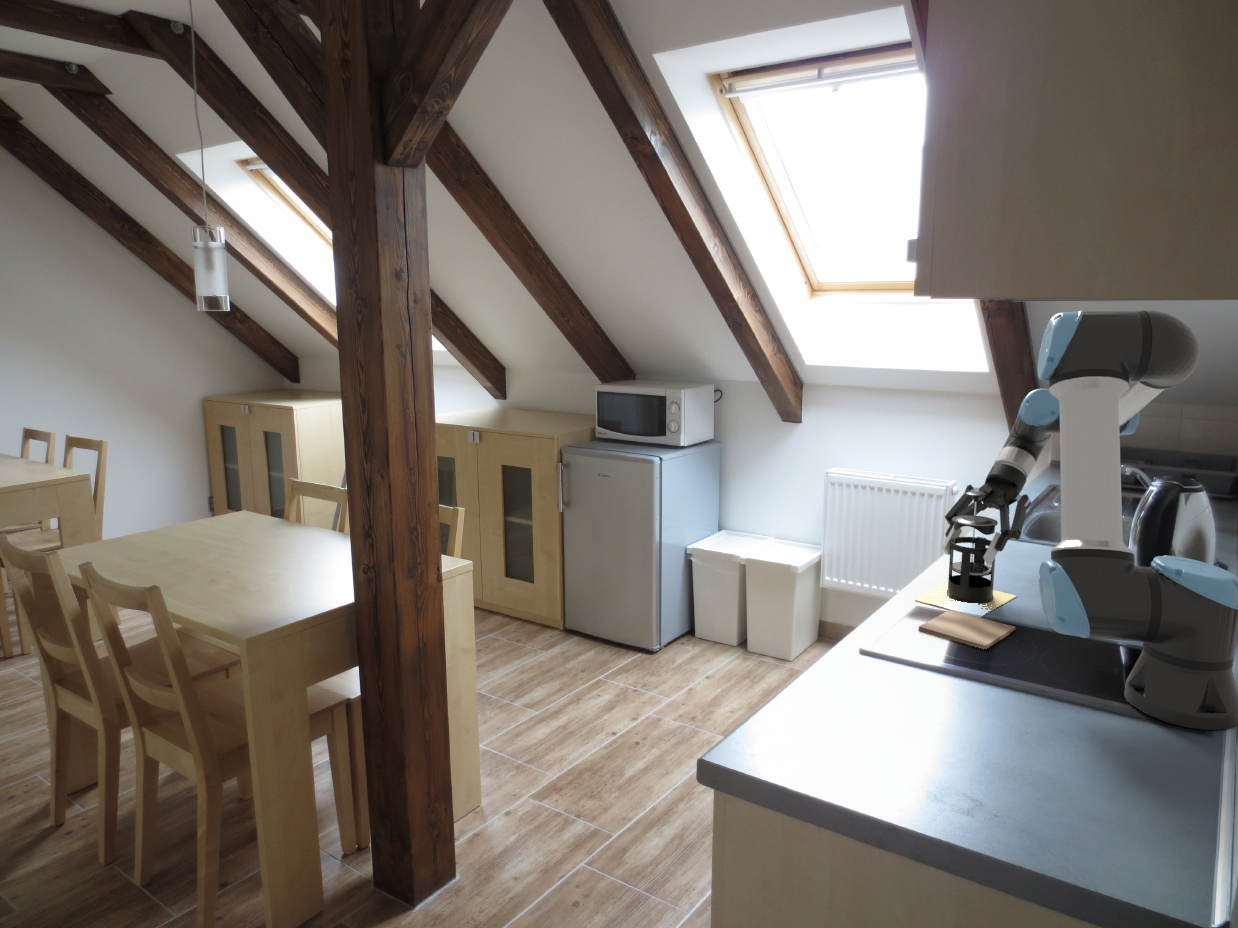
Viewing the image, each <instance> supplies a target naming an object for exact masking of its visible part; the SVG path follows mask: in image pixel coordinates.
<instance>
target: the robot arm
mask: <svg viewBox="0 0 1238 928" xmlns="http://www.w3.org/2000/svg"><path fill="white" fill-rule="evenodd" d="M1200 351H1201V350H1200V343H1199V340H1198V338H1197V337H1196V334H1195V333H1194V331H1193V330H1192V329H1191V328H1190V326H1188V324H1186V323H1185V322H1184V321H1182V320H1181V319H1180V318H1178V317H1176V316H1174V315H1171V314H1168V313H1167V312H1161V311H1158V310H1137V311H1136V310H1130V311H1129V310H1120V311H1119V310H1109V311H1108V310H1104V311H1103V310H1090V311H1089V310H1088V311H1085V310H1083V309H1081V310H1079V311H1062V312H1058V313H1056V314H1054V315H1053V316H1052V317H1051V318H1050V320H1049V321H1048V323H1047V325H1046V327H1045V330H1044V333H1043V337H1042V340H1041V344H1040V348H1039V354H1038V358H1037V359H1038V360H1037V368H1036V369H1037V377H1038V379H1039V380H1040V381H1043V382H1048V386H1049V387H1048V388H1036V389H1033V390H1032V391H1030V392H1028V393H1027V395H1026V396H1025V397H1024V399H1023V400H1022V402H1021V404H1020V406H1019V409H1018V411H1017V412H1018V413H1017V417H1016V419H1015V421H1014V423H1013V424H1012V425H1013V426H1012V428H1011V431H1010V432H1009V435H1008V437H1007V439H1006V441H1005V443H1004V445H1003V447H1002V448H1001V450H1000V452H999V453H998V455H997V457H996V459H995V460H994V463H993V465H992V466H991V468H990V471H989V472H988V474H987V476H986V478H985V481H984V484H982V485H981V486H980V487H974V486H973V485H972V484H967V486H966V488H965V491H964V493H963V494H962V495H961V496H960V498H959V499H958V500H957V501H956V502H955V504H954V505H953V506H952V507H951V508H950V510H948V511H947V513H946V515H945V516H944V519H945V521H946V522H947V523H948V525H949V527H948V528H947V529H946V532H945V537H946V538H945V540H944V542H943V544H942V546H941V549H942V550H943V552H944V554H945V555H947V556H950V545H951V539H954V543H955V538H957V537H961V534H962V532H963V530H962V527H961V528H959V529H958V530H954V522H953V521H952V518H953V517H956V516H962V515H973V516H974V508H975V502H974V496H969V495H966V492H970V491H979V492H983V493H986V494H987V496H983V497H979V498H978V502H977V505H976V516H978V514H979V513H980V512H983V511H985V510H987V509H995V510H998V511H999V520H1000V523H999V524H1000V529H999V530H1000V532H999V531H997V532H996V531H995V534H994V535H993V538H992V539H991V540H990V541H991V543H990V545H989V546H987V548H988V549H987V551H986V553H985V555H984V557H983V558H984V560H985V563H986V565H988V566H992V562H993V560H994V558H995V559H996V556H997V554H998V552H1002V551H1003V550H1004V549H1005V547H1006V545H1007V543H1008V541H1009V540H1010V539H1015V540H1020V538H1021V534H1022V532H1023V528H1024V527H1023V526H1024V523H1025V522H1024V521H1025V518H1026V514H1027V511H1028V509H1029V508H1030V506H1031V505H1032V502H1031V500H1030V497H1029V496H1028V494H1027V493H1026V494H1021V492H1022V490H1023V488H1024V486H1025V485H1026V483H1027V479H1029V477H1030V475H1031V473H1032V471H1033V470H1034V467H1035V466H1036V463H1037V461H1038V459H1039V457H1040V456H1041V453H1042V452H1043V450H1044V448H1045V447H1046V445H1047V442H1048V441H1049V440H1050V437H1051V435H1052V434H1059V451H1060V452H1059V461H1060V462H1059V463H1060V464H1059V465H1060V466H1059V468H1060V469H1059V471H1060V472H1059V473H1060V526H1061V527H1060V539H1061V540H1060V542H1059V543H1058V544H1057V545H1055V546H1054V547H1053V548H1052V549H1051V550H1050V558H1049V559H1048V558H1047V560H1046V559H1045V560H1043V561H1042V562H1041V564H1040V566H1039V570H1038V574H1039V578H1038V587H1039V597H1040V603H1041V607H1042V610H1043V613H1044V616H1045V619H1046V621H1047V623H1048V625H1049V626H1050V628H1052V630H1054V631H1055V632H1056V633H1058V634H1061V635H1069V636H1075V637H1080V638H1083V639H1088V638H1094V639H1095V638H1096V639H1106V640H1118V641H1129V642H1130V641H1131V642H1142V650H1141V653H1140V655H1139V657H1138V658H1137V660H1136V662H1135V663H1134V666H1133V668H1132V669H1131V671H1130V673H1129V675H1128V676H1127V678H1126V680H1125V685H1124V693H1123V694H1124V695H1123V696H1124V698H1126V699H1125V700H1126V702H1127V703H1128V702H1129V703H1130V704H1129V703H1128V704H1129V705H1131V706H1132V705H1133V706H1134V707H1136V708H1138V709H1139V710H1141V711H1144V712H1146V713H1148V714H1150V715H1152V716H1154V717H1157V718H1158V719H1157V720H1159V721H1162V722H1163V723H1164V722H1165V723H1168V724H1172V725H1176V726H1179V727H1185V728H1188V729H1189V728H1190V729H1197V730H1203V731H1204V730H1206V731H1207V730H1208V731H1209V730H1210V731H1213V730H1214V731H1215V730H1216V731H1218V730H1220V731H1221V730H1226V729H1231V728H1234V727H1235V726H1237V725H1238V687H1237V683H1236V678H1235V675H1234V670H1233V668H1234V659H1235V653H1236V647H1237V640H1238V576H1236V575H1235V574H1234V573H1232V572H1230V571H1228V570H1226V569H1224V568H1223V567H1219V566H1217V565H1214V564H1210V563H1207V562H1205V561H1201V560H1196V559H1192V558H1187V557H1183V556H1175V555H1162V556H1161V555H1158V556H1155V557H1154V558H1153V560H1152V561H1151V562H1150V566H1139V565H1136V564H1135V563H1136V562H1135V561H1136V560H1135V552H1134V551H1133V550H1132V549H1131V548H1130V547H1128V546H1127V545H1126V544H1125V542H1124V536H1123V534H1124V532H1123V509H1122V508H1123V506H1122V502H1123V501H1122V478H1121V477H1122V474H1121V473H1122V472H1121V468H1122V467H1121V444H1120V443H1121V440H1120V437H1121V436H1128V435H1129V436H1130V435H1133V434H1134V433H1135V432H1136V430H1137V429H1138V428H1137V427H1139V424H1140V411H1142V409H1144V408H1145V407H1146V406H1147V405H1148V404H1149V403H1150V402H1151V401H1153V400H1154V399H1155V398H1156V397H1157V396H1159V395H1160V394H1161V393H1162V392H1163V391H1165V390H1169V389H1173V388H1175V387H1177V386H1179V385H1180V384H1182V383H1183V382H1184V381H1186V379H1188V378H1189V377H1190V376H1191V374H1193V372H1194V371H1195V370H1196V367H1197V366H1198V363H1199V360H1200V354H1201V353H1200ZM1014 503H1016V507H1015V510H1014V515H1013V519H1012V523H1010V514H1011V513H1010V506H1011V505H1012V504H1014ZM1010 524H1011V525H1010ZM1133 706H1132V707H1133ZM1134 707H1133V708H1134ZM1136 708H1135V709H1136ZM1139 710H1138V711H1139ZM1141 711H1140V712H1141Z"/></svg>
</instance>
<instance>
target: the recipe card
mask: <svg viewBox="0 0 1238 928" xmlns="http://www.w3.org/2000/svg"><path fill="white" fill-rule="evenodd" d="M947 590H948V583H946V584H944V585H942V586H940V587H938V588H936V589H934V590H933V591H934V592H932V591H930V592H929V593H936V591H947ZM937 593H939V594H940V593H942V594H943V593H947V592H937ZM927 594H928V593H926V594H924V595H922V596H920V597H917V598H916V599H914V601H915V602H918V603H921V602H924V603H923V604H925V603H927V604H926V605H929V604H933V605H935V604H936V605H937V604H939V605H941V604H944V603H935V604H934V603H931V602H930V601H932V602H934V601H938V602H939V601H941V602H943V601H947V600H944V598H945V599H947V598H949V599H952V598H950V597H948V595H947V596H946V595H940V596H943V597H931V596H932V595H927ZM934 596H936V595H934ZM937 596H939V595H937ZM944 596H946V597H944ZM993 596H994V599H993V600H992V601H991V602H987V603H978V605H980V604H982V605H986V604H987V606H982V607H988V608H989V609H990V610H991V611H992V610H993V611H995V610H996V608H997V607H998V608H1000V607H1001V605H1002V606H1003V605H1005V604H1006V603H1009V602H1010V601H1011V600H1014V599H1015V598H1017V597H1018V595H1015V594H1011V593H1008V592H1007V593H1006V592H1003V591H999V590H995V589H993ZM931 599H938V600H931ZM939 599H942V600H939ZM948 601H951V602H952V601H953V600H948ZM955 601H956V600H955ZM945 604H947V603H945ZM991 605H992V606H991ZM999 606H1000V607H999ZM940 607H942V606H940ZM940 607H939V608H940ZM943 607H944V606H943ZM990 607H992V608H990ZM988 608H985V609H986V610H988ZM998 608H997V609H998ZM981 609H983V608H981ZM994 609H995V610H994ZM993 611H992V612H993ZM988 612H990V611H988ZM990 613H991V612H990Z"/></svg>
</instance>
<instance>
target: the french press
mask: <svg viewBox="0 0 1238 928" xmlns="http://www.w3.org/2000/svg"><path fill="white" fill-rule="evenodd" d="M966 495H969V496H974V499H973V502H975V508H974V516H973V515H962V516H956V517H953V518H952V521H953V522H954V530H958V529H959V528H961V529H962V528H963V527H970V528H973V529H972V536H959V537H957V538H955V543H954V539H951V545H950V554H949V563H948V564H949V565H948V566H949V567H948V581H947V584H948V590H947V595H948V596H949V597H950V598H952V599H954V600H957V601H961V602H967V603H987V602H991V601H992V600H993V599H994V596H993V590H994V581H995V567H996V566H995V565H996V564H995V563H996V557H995V558H994V560H993V562H992V564H991V565H987V564H985V563H986V561H985V560H984V558H983V557H984V555H985V553H986V551H987V549H988V547H989V545H990V543H991V541H992V540H990V539H987V538H986V537H984V536H983V537H982V536H976V535H975V534H976V530H977V531H978V532H980V533H981V534H982V535H987V536H989V535H993V534H994V533H996V531H995V530H996V526H997V525H998V520H996V519H994V518H991V517H987V516H981V515H976V505H977V502H978V498H979V497H983V496H987V494H986V493H983V492H979V491H970V492H966ZM958 544H971V547H968V546H963V545H958ZM986 546H987V547H986ZM954 551H955V552H959V553H961V561H956V562H954ZM953 572H955V573H957V574H955V575H954V574H953ZM989 575H990V579H989V578H986V576H989ZM984 576H985V577H984Z"/></svg>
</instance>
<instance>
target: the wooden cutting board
mask: <svg viewBox="0 0 1238 928" xmlns="http://www.w3.org/2000/svg"><path fill="white" fill-rule="evenodd" d="M1014 630H1015V631H1016V626H1013V625H1010V624H1005V623H1002V622H998V621H995V620H991V619H987V618H984V617H981V618H980V617H977V616H973V615H969V614H966V613H962V612H958V611H955V610H951V609H950V610H946V611H945V612H942V613H941V614H939V615H938V616H936V617H933V618H931V619H930V620H928V621H926V622H924V623H923V624H921V625H919V626H918V631H920V632H923V633H927V634H930V635H934V636H937V637H941V638H944V639H947V640H949V641H950V640H951V641H953V642H957V643H960V644H963V643H964V645H967V646H970V647H973V646H974V648H977V647H978V649H980V648H981V650H984V649H986V650H987V648H988V649H989V648H991V647H992V646H994V645H995V644H997V643H998V642H1000V641H1001V640H1003V639H1005V638H1006V637H1007V636H1009V635H1011V634H1012V633H1013V631H1014ZM1015 631H1014V632H1015ZM1011 632H1012V633H1011ZM990 646H991V647H990Z"/></svg>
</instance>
